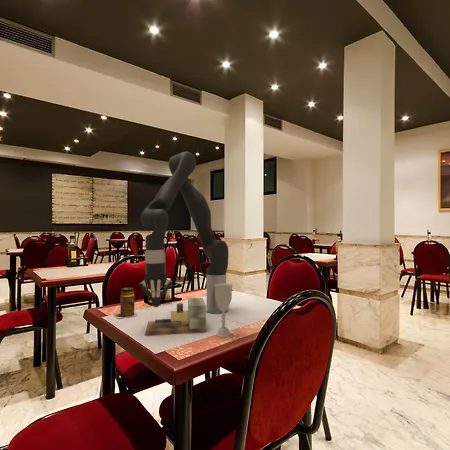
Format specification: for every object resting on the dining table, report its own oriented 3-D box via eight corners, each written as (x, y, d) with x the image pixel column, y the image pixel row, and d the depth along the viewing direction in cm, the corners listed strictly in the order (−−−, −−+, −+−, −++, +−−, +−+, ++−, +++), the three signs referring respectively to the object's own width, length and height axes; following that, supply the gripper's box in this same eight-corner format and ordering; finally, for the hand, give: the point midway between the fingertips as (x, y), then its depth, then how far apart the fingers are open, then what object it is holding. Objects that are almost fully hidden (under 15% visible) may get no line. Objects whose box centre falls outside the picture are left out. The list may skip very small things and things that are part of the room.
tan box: (196, 322, 122) (196, 302, 122) (197, 324, 119) (196, 304, 119) (170, 323, 120) (170, 303, 120) (170, 325, 117) (170, 305, 117)
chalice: (225, 330, 117) (225, 282, 117) (237, 335, 111) (237, 285, 112) (209, 334, 112) (209, 285, 112) (221, 339, 107) (221, 287, 107)
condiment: (137, 316, 136) (137, 288, 136) (117, 319, 131) (117, 291, 132) (132, 312, 142) (132, 286, 142) (113, 315, 138) (113, 288, 138)
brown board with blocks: (202, 322, 127) (202, 297, 127) (205, 332, 115) (205, 305, 115) (147, 325, 123) (147, 300, 123) (145, 335, 111) (145, 307, 111)
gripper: (172, 259, 122) (173, 303, 122) (138, 261, 120) (139, 305, 120) (173, 261, 115) (174, 308, 115) (136, 263, 112) (137, 310, 113)
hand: (156, 306), depth 117 cm, fingers closed
